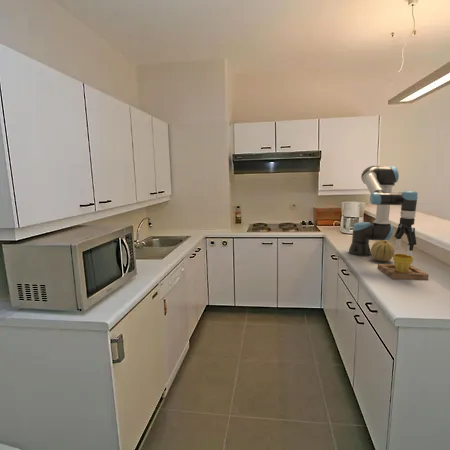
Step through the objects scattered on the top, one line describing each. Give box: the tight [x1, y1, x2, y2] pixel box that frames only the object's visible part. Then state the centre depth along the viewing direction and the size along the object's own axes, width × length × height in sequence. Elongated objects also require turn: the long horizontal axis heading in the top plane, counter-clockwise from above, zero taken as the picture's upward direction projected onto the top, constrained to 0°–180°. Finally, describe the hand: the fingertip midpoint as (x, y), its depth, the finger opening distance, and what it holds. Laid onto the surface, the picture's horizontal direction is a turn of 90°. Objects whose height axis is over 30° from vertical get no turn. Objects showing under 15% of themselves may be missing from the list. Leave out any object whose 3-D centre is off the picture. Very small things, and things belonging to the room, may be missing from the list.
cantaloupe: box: [370, 240, 395, 263], centre depth 219 cm, size 15×15×15 cm
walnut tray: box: [377, 263, 430, 281], centre depth 193 cm, size 20×20×3 cm
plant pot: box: [392, 253, 414, 273], centre depth 193 cm, size 10×10×10 cm
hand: (403, 252), depth 192 cm, fingers open, 13 cm apart
